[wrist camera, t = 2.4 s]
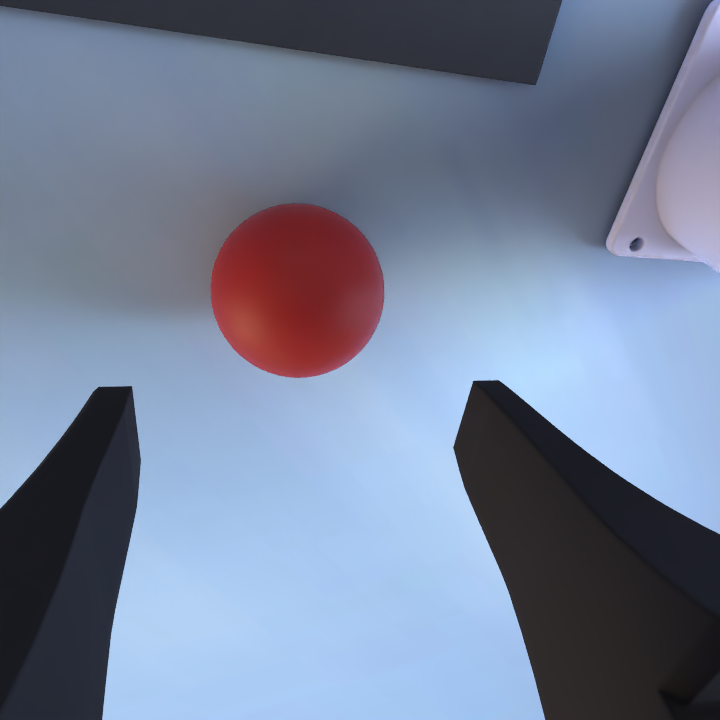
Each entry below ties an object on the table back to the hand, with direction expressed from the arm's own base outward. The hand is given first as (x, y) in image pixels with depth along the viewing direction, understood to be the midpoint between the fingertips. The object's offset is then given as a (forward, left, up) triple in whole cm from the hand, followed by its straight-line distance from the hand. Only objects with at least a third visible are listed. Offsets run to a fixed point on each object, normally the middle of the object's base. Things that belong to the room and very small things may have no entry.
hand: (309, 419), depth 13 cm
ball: (0, 0, -8) cm, 8 cm away
